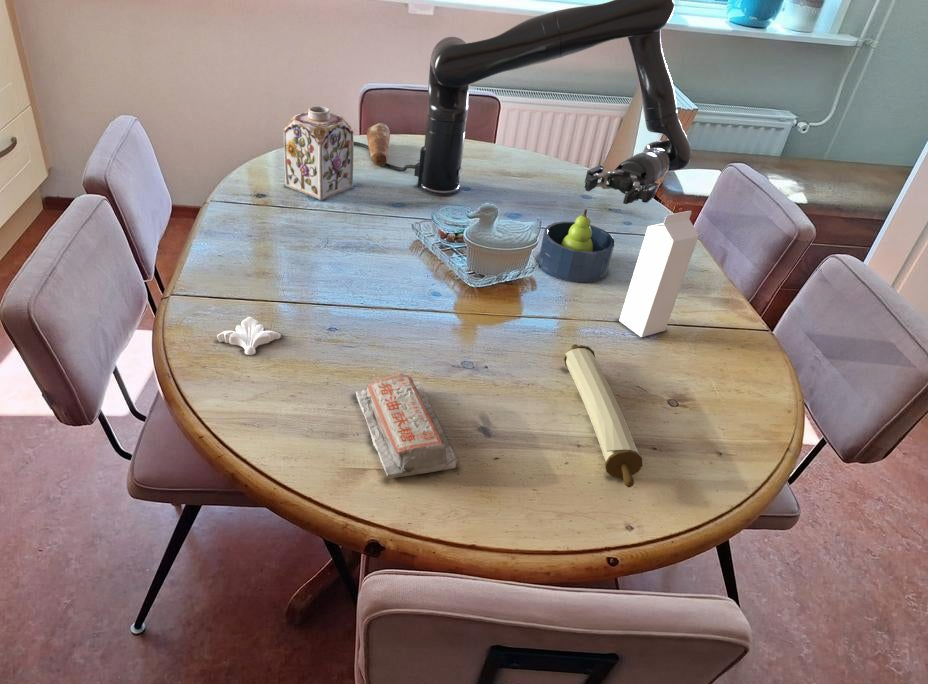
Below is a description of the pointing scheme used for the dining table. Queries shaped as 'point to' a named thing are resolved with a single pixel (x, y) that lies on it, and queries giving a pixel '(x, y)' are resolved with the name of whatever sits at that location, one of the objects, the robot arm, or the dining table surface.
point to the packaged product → (404, 427)
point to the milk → (659, 274)
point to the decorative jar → (318, 153)
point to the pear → (579, 235)
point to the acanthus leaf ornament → (248, 335)
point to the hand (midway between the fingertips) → (606, 192)
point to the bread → (378, 143)
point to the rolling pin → (604, 414)
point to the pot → (575, 254)
